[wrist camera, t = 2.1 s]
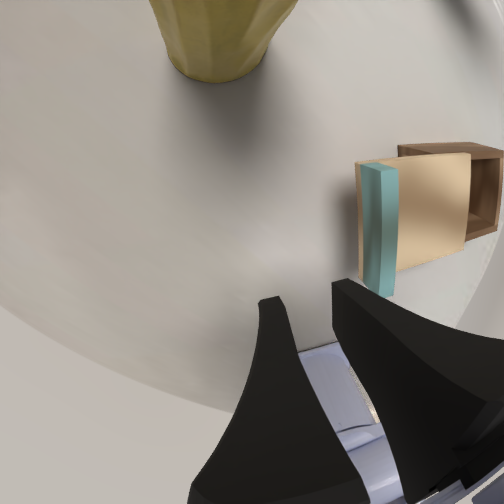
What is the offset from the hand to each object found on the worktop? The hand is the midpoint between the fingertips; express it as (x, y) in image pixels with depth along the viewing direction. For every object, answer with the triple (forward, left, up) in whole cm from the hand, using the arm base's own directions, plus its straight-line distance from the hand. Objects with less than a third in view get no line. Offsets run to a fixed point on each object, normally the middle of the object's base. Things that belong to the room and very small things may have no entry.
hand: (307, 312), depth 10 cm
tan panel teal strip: (0, -9, -6) cm, 11 cm away
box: (0, -16, -10) cm, 19 cm away
